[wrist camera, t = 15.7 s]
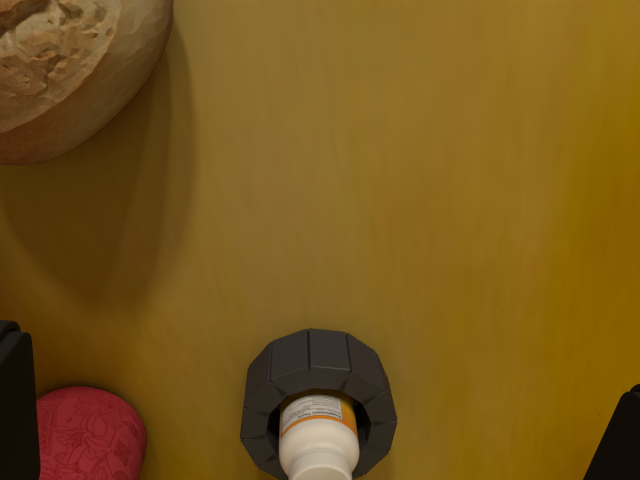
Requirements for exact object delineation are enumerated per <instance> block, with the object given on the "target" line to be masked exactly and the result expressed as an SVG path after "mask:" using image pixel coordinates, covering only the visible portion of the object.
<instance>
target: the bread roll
mask: <svg viewBox="0 0 640 480" xmlns="http://www.w3.org/2000/svg"><path fill="white" fill-rule="evenodd" d="M172 22H173V0H0V164H2V165H33V164H38V163H42V162H46V161H49V160H52V159H54V158H57V157H59V156H61V155H63V154H65V153H67V152H69V151H71V150H73V149H74V148H76V147H77V146H79V145H80V144H82V143H84V142H85V141H86V140H88V139H89V138H91V137H92V136H93V135H94V134H96V133H97V132H98V131H99V130H101V129H102V128H103V127H104V126H105V125H106V124H107V123H108V122H109V121H110V120H111V119H112V118H114V117H115V116H116V115H117V114H118V113H119V112H120V111H121V110H122V109H123V108H124V107H125V106H126V104H127V103H128V102H129V101H130V100H131V99H132V98H133V97H134V96H135V95H136V93H137V92H138V91H139V90H140V88H141V87H142V86H143V84H144V83H145V81H146V80H147V79H148V77H149V76H150V74H151V73H152V71H153V70H154V68H155V66H156V65H157V63H158V61H159V59H160V58H161V56H162V53H163V51H164V49H165V47H166V44H167V41H168V38H169V34H170V29H171V26H172Z"/></svg>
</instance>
